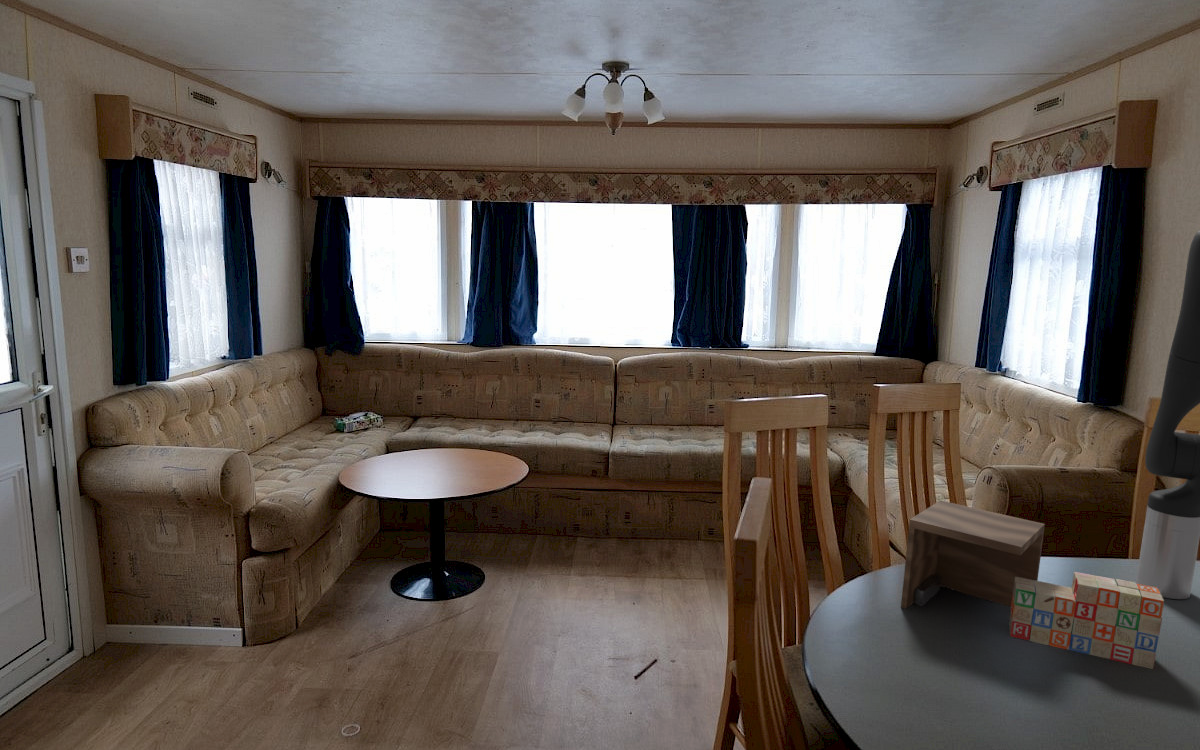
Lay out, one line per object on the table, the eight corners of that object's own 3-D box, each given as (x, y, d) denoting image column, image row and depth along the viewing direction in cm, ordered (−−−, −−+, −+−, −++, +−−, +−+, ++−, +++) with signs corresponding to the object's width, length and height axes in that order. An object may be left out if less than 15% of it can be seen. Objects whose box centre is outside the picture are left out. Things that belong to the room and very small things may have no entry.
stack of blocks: (1008, 637, 137) (1017, 571, 135) (1008, 623, 143) (1016, 560, 141) (1154, 670, 128) (1165, 599, 126) (1147, 653, 133) (1158, 586, 131)
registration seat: (931, 588, 157) (933, 574, 156) (939, 590, 156) (941, 576, 155) (914, 603, 149) (915, 589, 149) (922, 606, 148) (923, 591, 148)
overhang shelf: (931, 581, 160) (940, 500, 157) (1033, 611, 148) (1044, 524, 145) (900, 607, 147) (909, 519, 145) (1009, 642, 135) (1021, 547, 132)
